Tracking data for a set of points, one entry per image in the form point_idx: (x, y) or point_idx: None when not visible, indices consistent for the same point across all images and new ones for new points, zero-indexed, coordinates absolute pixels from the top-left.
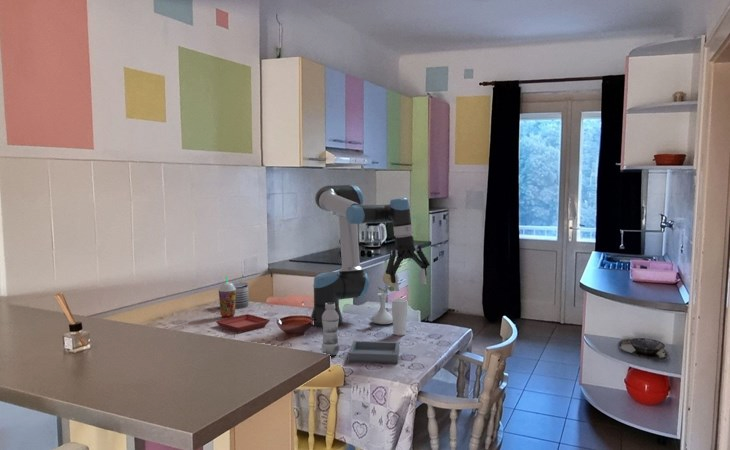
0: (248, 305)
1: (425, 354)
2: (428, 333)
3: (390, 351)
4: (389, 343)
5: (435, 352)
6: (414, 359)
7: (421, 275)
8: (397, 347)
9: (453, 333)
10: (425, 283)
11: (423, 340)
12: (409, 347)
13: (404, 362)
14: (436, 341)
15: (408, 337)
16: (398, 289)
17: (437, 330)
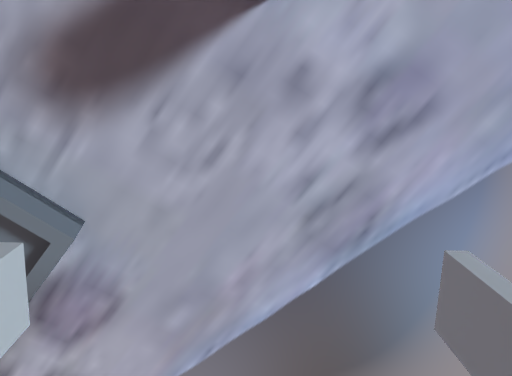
0: None
1: (168, 310)
2: (403, 41)
3: None
4: (19, 223)
5: (222, 307)
6: (86, 341)
7: (510, 341)
8: None
9: (500, 113)
10: (448, 335)
11: (294, 136)
12: (162, 198)
13: (26, 354)
14: (335, 182)
15: (262, 47)
16: (14, 332)
17: (483, 18)
